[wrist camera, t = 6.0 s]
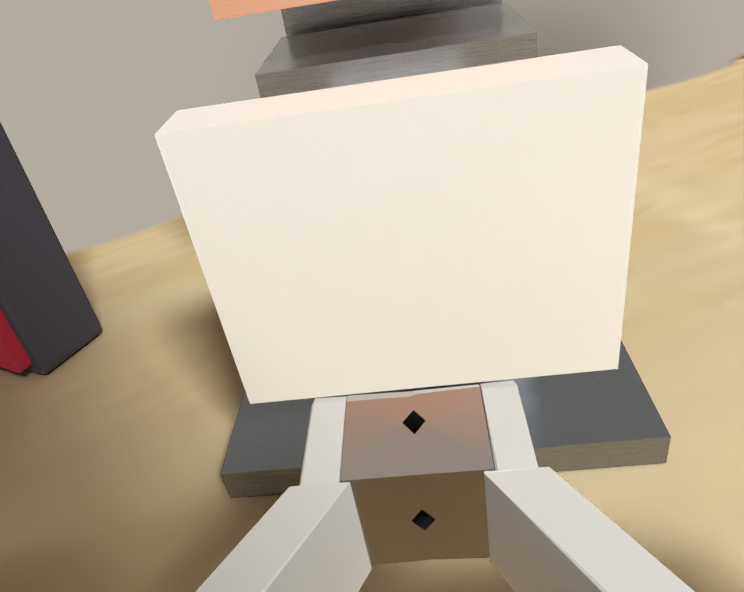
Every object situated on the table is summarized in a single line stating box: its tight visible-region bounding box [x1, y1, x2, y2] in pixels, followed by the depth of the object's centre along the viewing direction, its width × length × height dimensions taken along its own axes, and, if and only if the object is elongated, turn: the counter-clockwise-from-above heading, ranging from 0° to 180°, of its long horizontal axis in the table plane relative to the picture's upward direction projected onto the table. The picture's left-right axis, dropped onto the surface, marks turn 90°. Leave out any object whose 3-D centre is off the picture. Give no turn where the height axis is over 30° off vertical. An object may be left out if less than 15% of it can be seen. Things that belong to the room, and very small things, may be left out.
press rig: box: [221, 0, 671, 497], centre depth 19 cm, size 12×17×18 cm
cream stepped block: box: [155, 45, 648, 404], centre depth 16 cm, size 9×8×7 cm
